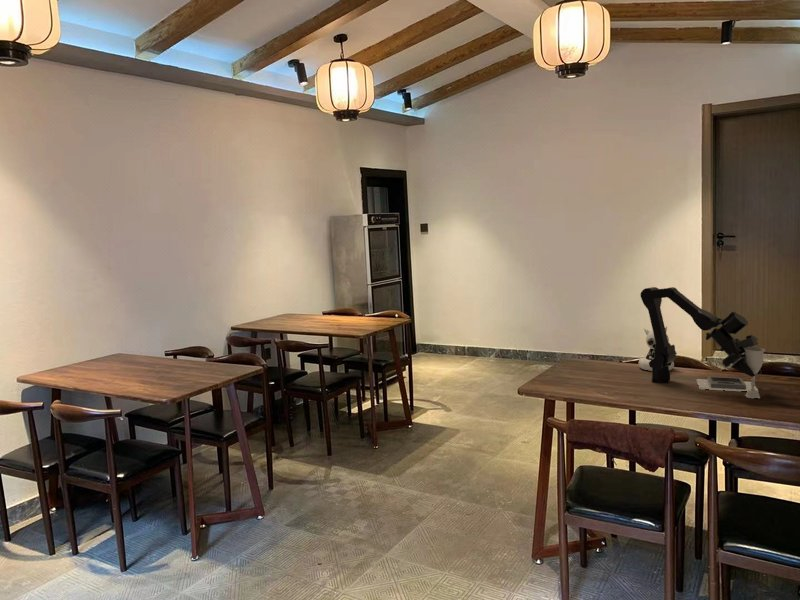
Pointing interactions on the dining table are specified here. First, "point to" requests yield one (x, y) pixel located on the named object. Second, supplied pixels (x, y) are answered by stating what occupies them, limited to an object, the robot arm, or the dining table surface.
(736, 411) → the dining table surface
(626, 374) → the dining table surface
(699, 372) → the dining table surface
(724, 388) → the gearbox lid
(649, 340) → the decorative figurine
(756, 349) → the chalice
